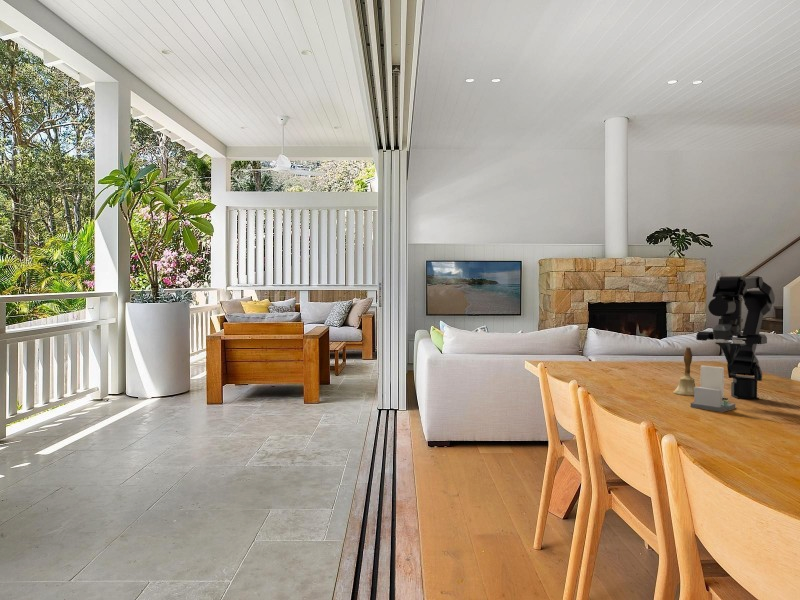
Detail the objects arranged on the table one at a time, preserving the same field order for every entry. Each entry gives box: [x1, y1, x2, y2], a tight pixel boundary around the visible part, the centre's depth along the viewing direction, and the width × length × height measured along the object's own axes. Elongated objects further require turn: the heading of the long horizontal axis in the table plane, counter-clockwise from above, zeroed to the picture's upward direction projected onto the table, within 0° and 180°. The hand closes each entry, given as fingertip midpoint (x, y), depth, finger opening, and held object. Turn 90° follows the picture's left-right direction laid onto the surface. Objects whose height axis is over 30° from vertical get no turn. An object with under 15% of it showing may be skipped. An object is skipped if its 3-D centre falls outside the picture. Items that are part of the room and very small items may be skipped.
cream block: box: [699, 364, 729, 405], centre depth 168 cm, size 2×9×11 cm, turn 40°
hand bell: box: [673, 346, 697, 397], centre depth 192 cm, size 8×8×16 cm
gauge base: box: [690, 386, 736, 413], centre depth 168 cm, size 10×9×6 cm
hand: (730, 364), depth 177 cm, fingers closed
